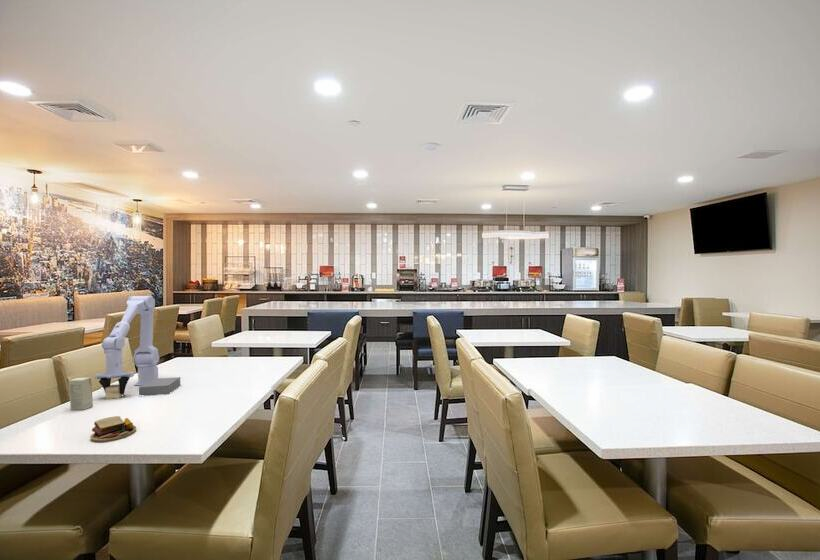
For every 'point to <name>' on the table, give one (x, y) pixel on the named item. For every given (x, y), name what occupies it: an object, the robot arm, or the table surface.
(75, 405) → the skincare box
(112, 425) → the toy sandwich meal
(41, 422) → the table surface
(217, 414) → the table surface
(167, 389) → the flat grey base plate
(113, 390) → the birch cube
